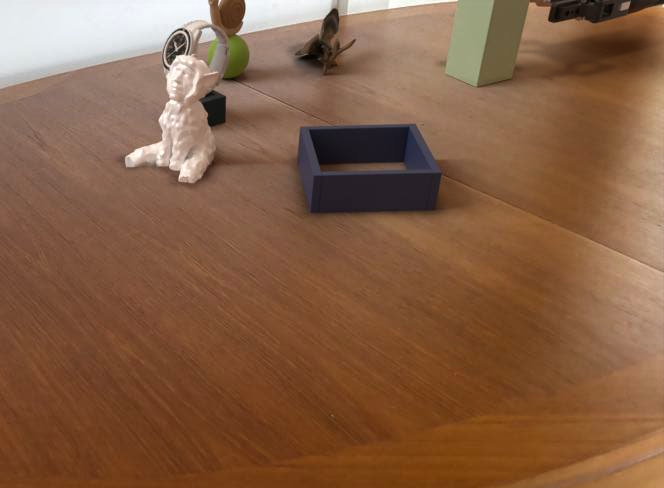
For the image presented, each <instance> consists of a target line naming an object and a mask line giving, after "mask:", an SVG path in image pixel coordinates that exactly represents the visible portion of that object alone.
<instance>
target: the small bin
mask: <svg viewBox="0 0 664 488" xmlns="http://www.w3.org/2000/svg"><path fill="white" fill-rule="evenodd" d="M529 6H530V0H457V2H456V8H455V14H454V19H453V25H452V30H451V35H450V41H449V45H448V46H449V47H448V51H447V57H446V64H445V68H444V74H445V75H447V76H449V77H451V78H454V79H456V80H458V81H461V82H463V83H466V84H468V85H470V86H472V87H475V88H479V87H482V86H487V85H490V84H495V83H498V82H502V81H507V80H510V79H513V76H514V71H515V67H516V63H517V58H518V54H519V50H520V45H521V42H522V41H521V40H522V37H523V32H524V28H525V23H526V20H527V16H528V11H529Z"/></svg>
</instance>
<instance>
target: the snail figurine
mask: <svg viewBox="0 0 664 488" xmlns="http://www.w3.org/2000/svg"><path fill="white" fill-rule="evenodd" d="M207 2H208V6H209V15H210V23H211V24H213V25H216V26H218V27H220V28H221V29H222V30H223V31H224V32H225V33H226V35H227V37H228V40H229V44H230V48H229V49H230V52H229V53H230V58H229V62H228V65H227V68H226V71H225V73H224V75H223V78H222V79H233V78H236V77H238V76H240V75H241V74H242V73H243V72H244V71H245V70H246V69H247V67H248V65H249V61H250V48H249V46H248V43H247V42H246V40H245V39H244V38H243V37H242V36H241V35H238V33H239V32H240V31H241V29H242V28H243V26H244V21H243V20H244V18H245V15H246V8H247V7H246V6H247V5H246V1H245V0H207ZM217 44H218V43H217V37H215V39H213V41H212V42H211V43H210V45H209V47H208V50H207V63H208V67H210V64H211V61H212V58H213V55H214V51H216V47H217Z"/></svg>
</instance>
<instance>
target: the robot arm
mask: <svg viewBox="0 0 664 488" xmlns="http://www.w3.org/2000/svg"><path fill="white" fill-rule="evenodd" d="M530 3H532V4H533V3H535V6H536V7H539V8H549V13H548V17H547V21H548V22H549V23H552V24H556V23H561V22H565V21H570V20H575V21H577V22H581V21H584V20H585V21H587V22H589V23H592V24H599V23H603V22H606V21H610V20H614V19H619V18H622V17H626V16H628V15H632V14H635V13H638V12H641V11H644V10H646V9H649V8H652V7H653V8H655V7H658V6H663V5H664V0H530V2H529V4H530Z"/></svg>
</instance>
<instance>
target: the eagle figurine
mask: <svg viewBox="0 0 664 488" xmlns="http://www.w3.org/2000/svg"><path fill="white" fill-rule="evenodd" d="M321 23H322V25H321V27H320V34H319V33H316V34H314V35H312V36H311V37H310V38H309V39H307V41H305V42H304V43H303V46H302V47H301V48H299V49H298V50H297V51H296V52H295V53H294V56H300V57H301V56H303V55H315V56H316V57H317V60H318V61H320V62H321V64H323V67H322V76H325V75H326V73H327V71H328V70H329V69H330V66H332V64H333V63H334V64H335V65H337V66H339V63H338V56H339V55H341V54H342V53H343V52H345V51H347V50H348V49H350V48H352V47H353V45H354V44H355V43H356V41H357V39H356V38H353V39H352V40H351V41H350V42H348V43H347V44H345V45H344V46H342V47H341V44H340V40H339V37H336V39H335V41H334V43H333V45H332V39H334V38H335V35H336V34H337V33H338V32H339V27H340V13H339V9H338V8H336V7H333V8H332V9H330V11H329V12H328V13H327V14H326V15H325V17H324V18H323V20H322V22H321Z"/></svg>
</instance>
